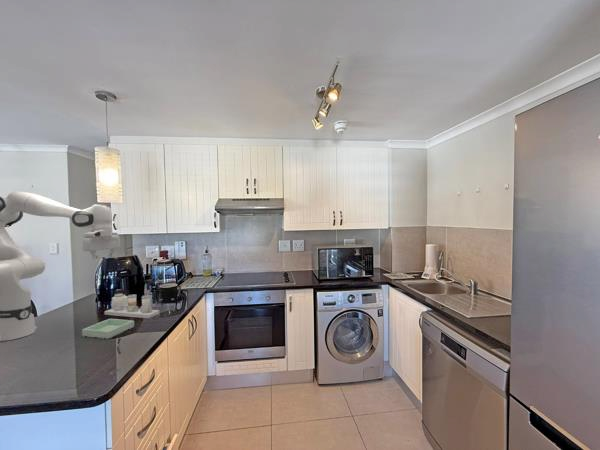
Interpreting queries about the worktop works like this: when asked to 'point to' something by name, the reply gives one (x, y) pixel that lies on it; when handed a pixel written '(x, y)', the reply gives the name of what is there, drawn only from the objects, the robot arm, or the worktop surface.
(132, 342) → the worktop surface
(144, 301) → the fuse right
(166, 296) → the mug
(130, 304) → the fuse marked
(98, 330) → the tray
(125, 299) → the medicine bottle
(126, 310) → the holder
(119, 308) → the fuse left
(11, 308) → the robot arm
